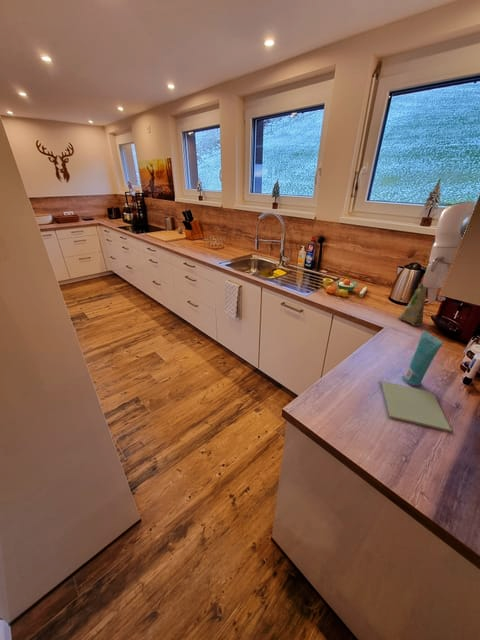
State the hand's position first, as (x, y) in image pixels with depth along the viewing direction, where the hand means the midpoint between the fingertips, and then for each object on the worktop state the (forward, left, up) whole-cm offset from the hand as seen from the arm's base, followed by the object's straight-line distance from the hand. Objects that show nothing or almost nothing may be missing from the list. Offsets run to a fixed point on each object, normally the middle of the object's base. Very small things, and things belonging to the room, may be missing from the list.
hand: (436, 301), depth 86 cm
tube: (0, +7, -29) cm, 30 cm away
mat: (+3, +20, -29) cm, 35 cm away
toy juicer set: (+19, -74, -29) cm, 82 cm away
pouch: (-11, -45, -29) cm, 55 cm away
